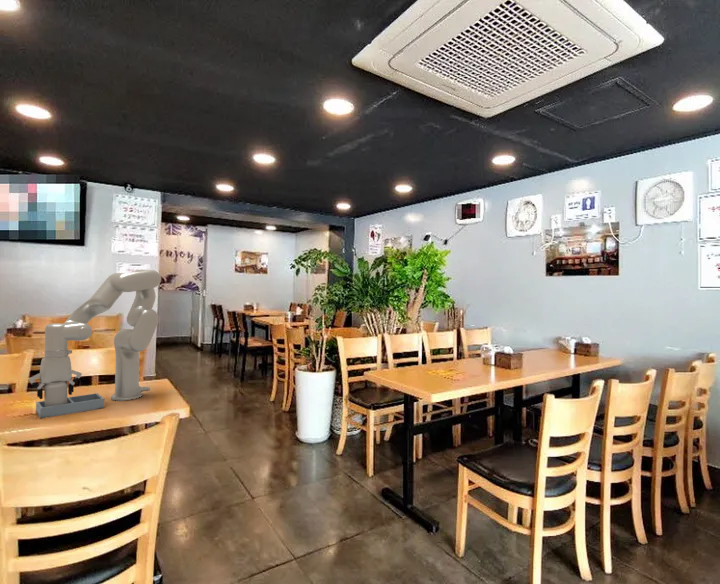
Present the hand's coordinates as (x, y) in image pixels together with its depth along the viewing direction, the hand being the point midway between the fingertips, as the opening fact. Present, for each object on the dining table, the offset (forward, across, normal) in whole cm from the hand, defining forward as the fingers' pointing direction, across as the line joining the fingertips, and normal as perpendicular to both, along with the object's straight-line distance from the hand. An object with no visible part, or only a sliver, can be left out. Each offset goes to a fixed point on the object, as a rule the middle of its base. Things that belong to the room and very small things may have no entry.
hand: (55, 396), depth 165 cm
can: (+6, 0, 0) cm, 6 cm away
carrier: (+6, -5, 0) cm, 8 cm away
